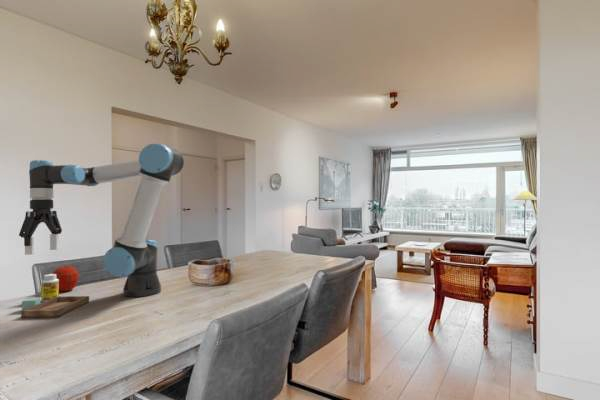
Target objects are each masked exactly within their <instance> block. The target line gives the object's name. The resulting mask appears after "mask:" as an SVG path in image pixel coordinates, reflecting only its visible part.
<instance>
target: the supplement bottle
mask: <svg viewBox="0 0 600 400" xmlns="http://www.w3.org/2000/svg"><path fill="white" fill-rule="evenodd" d="M43 276H44V277H43V280H42V281H41V296H40V301H41V302H45V301H48V300H50V299H53V298H55V297H58V296H59V292H60V291H59V280H58V279H56V274H53V273H50V274H49V273H48V274H44V275H43Z"/></svg>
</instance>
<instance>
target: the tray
mask: <svg viewBox="0 0 600 400" xmlns="http://www.w3.org/2000/svg"><path fill="white" fill-rule="evenodd" d="M89 303H90V296H89V295H82V296H81V295H75V296H74V295H71V296H70V295H68V296H67V295H66V296H65V295H61V296H60V295H58V297H55V298H53V299H50V300H48V301H45V302H43V301H41V302H40V304H37V305H35V306H32V307H30V308H27V309H25V310H22V309H21V311H20V313H21V314H20V315H21V316H20V317H21V318H20V319H58V318H60V317H62V316H64V315H66V314H69V313H70V312H72V311H74V310H76V309H78V308H80V307H83V306H84V305H86V304H89Z"/></svg>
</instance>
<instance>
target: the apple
mask: <svg viewBox="0 0 600 400" xmlns="http://www.w3.org/2000/svg"><path fill="white" fill-rule="evenodd" d="M52 274H56V279H58V280H59V292H67V291H72V290H73V289H74V288H76V287H77V285H78V281H79V277H80V276H79V271H78V270H77V269H76V268H75V267H73V266H70V265H69V266H66V265H64V266H59V267H57V268H56V269H55V270H53V272H52Z"/></svg>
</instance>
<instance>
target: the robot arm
mask: <svg viewBox="0 0 600 400" xmlns="http://www.w3.org/2000/svg"><path fill="white" fill-rule="evenodd" d="M184 166H185V160H184V156H183V155H182V153H181V152H180V151H179V150H177V149H176V148H172V147H170V146H168V145H166V144H162V143H158V142H155V143H154V142H153V143H149V144H148V145H145V147H143V148H142V149H141V151H140V153H139V156H138V159H136V160H130V161H124V162H117V163H112V164H106V165H100V166H99V165H98V166H94V167H93V166H92V167H82V166H80V165H78V164H61V165H58V164H57V165H54V163H53V162H52V161H50V160H43V159H40V160H38V159H36V160H35V159H34V160H31V161H30V162H29V170H28V174H29V198H30V200H29V209H30V211H28V210H27V211H26V212H25V217H24V220H23V223H22V225H21V228H20V229H19V230H20V231H19V232H18V233H19V234H18V235H19V237H20V238H23V242H24V243H23V246H24V255H26V256H27V255H28V256H29V255H34V253H35V252H34V251H35V250H34V249H35V248H34V239H35V238H34V237H32V236H33V235H34V233H35V232H36V230H37V228H38V226H39V224H41V223H43V224H45V225H46V227H47V228H48V230H49V232H50V234H49V250H50V251H53V250H54V251H57V250H59V235H60V234H62V232H63V230H62V227H61V224H60V223H61V222H60V220H59V217H58V215H57V214H58V213H57V210H52V209H54V200H53V199H54V185H73V186H74V185H75V186H78V185H79V186H86V187H95V186H98V185H99V184H100V185H101V184H105V183H111V182H113V183H114V182H118V181H119V182H120V181H124V180H130V179H138V178H141V179H140V182H139V185H138V187H137V191H136V193H135V196H134V199H133V202H132V206H131V208H130V211H129V214H128V217H127V219H126V223H125V224H124V227H123V230H122V231H123V232H122V233H121V235H119V236H117V237H116V238H115V240H114V243H113V247H111V248H110V249H108V250H107V251H106V252H105V254H104V256H103V266H104V269H106V271H107V273H108V274H110V275H112V276H113V277H117V278H122V277H126V279H125V284H124V285H123V290H122V295H123V296H124V297H129V298H133V297H134V298H136V297H137V298H139V297H146V296H147V297H148V296H153V295H156V294H159V293H161V291H162V285H161V280H160V278H159V276H158V242H157V241H156V240H154V239H146V238H147V235H148V232H149V229H150V226H151V223H152V222H153V218H154V215H155V212H156V208H157V207H158V203H159V201H160V197H161V195H162V192H163V189H164V186H165V185H167V184H168V183H170V182H171V178H172V176H175V175H178V174H179V173H181V171H182V170H183V168H184ZM31 210H32V211H31Z"/></svg>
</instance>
